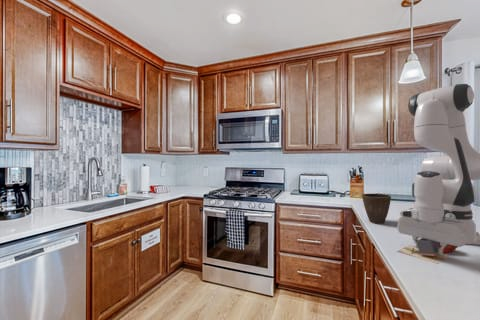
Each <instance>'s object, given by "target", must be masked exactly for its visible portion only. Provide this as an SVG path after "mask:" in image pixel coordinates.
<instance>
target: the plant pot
mask: <svg viewBox="0 0 480 320" xmlns="http://www.w3.org/2000/svg"><path fill="white" fill-rule="evenodd" d="M361 196H362V197H361V198H362V201H363V207H364V209H365V214H366V216H367V219H368V221H369V223H372V224H377V225H378V224H379V225H382V224H385V221H386V219H387V217H388V214H389V211H390V206H391V200H392V195H389V194H385V193H384V194H383V193H364V194H362V195H361Z"/></svg>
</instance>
